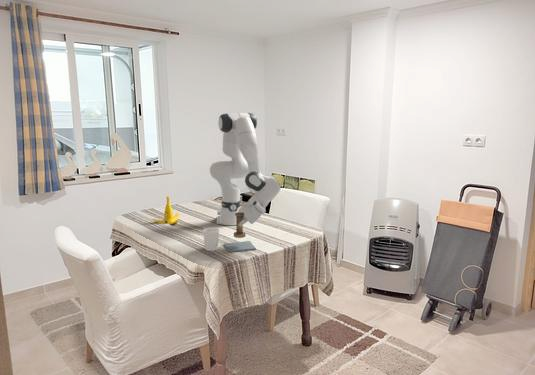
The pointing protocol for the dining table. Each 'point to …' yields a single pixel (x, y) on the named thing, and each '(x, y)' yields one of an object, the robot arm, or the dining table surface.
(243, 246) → the gray book
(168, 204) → the banana peel
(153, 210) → the dining table surface
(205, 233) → the white cup
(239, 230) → the brown post
